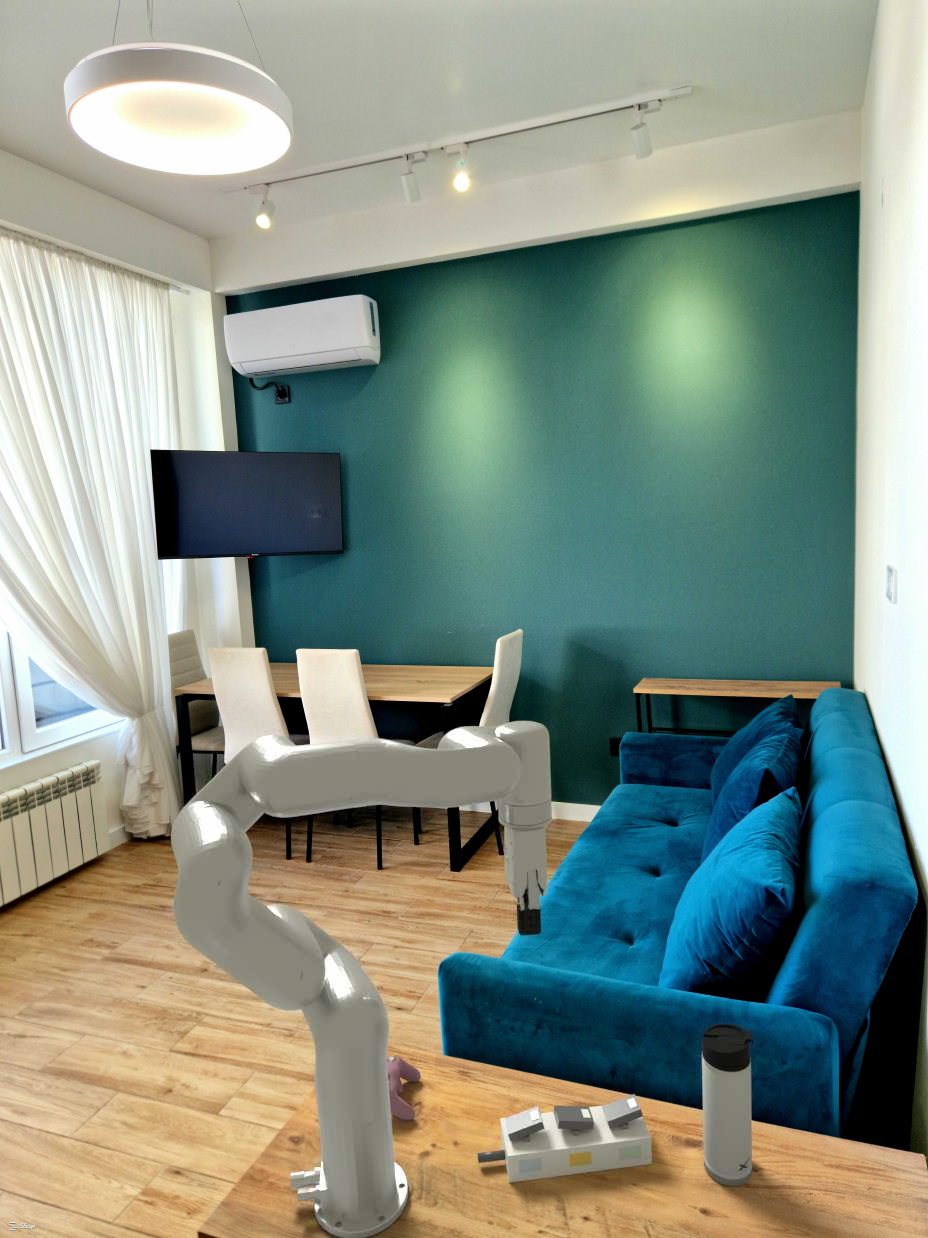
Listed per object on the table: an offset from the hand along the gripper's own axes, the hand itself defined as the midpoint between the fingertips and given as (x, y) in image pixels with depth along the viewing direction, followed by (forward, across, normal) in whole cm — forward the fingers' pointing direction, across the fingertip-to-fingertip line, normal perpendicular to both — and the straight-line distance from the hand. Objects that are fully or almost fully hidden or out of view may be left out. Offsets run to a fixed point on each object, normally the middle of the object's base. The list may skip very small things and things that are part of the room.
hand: (529, 932), depth 117 cm
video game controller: (+31, -8, -20) cm, 38 cm away
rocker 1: (+25, +6, -3) cm, 26 cm away
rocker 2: (+25, +6, +11) cm, 28 cm away
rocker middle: (+25, +6, +4) cm, 26 cm away
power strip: (+30, +6, +3) cm, 31 cm away
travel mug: (+30, +12, +25) cm, 41 cm away
